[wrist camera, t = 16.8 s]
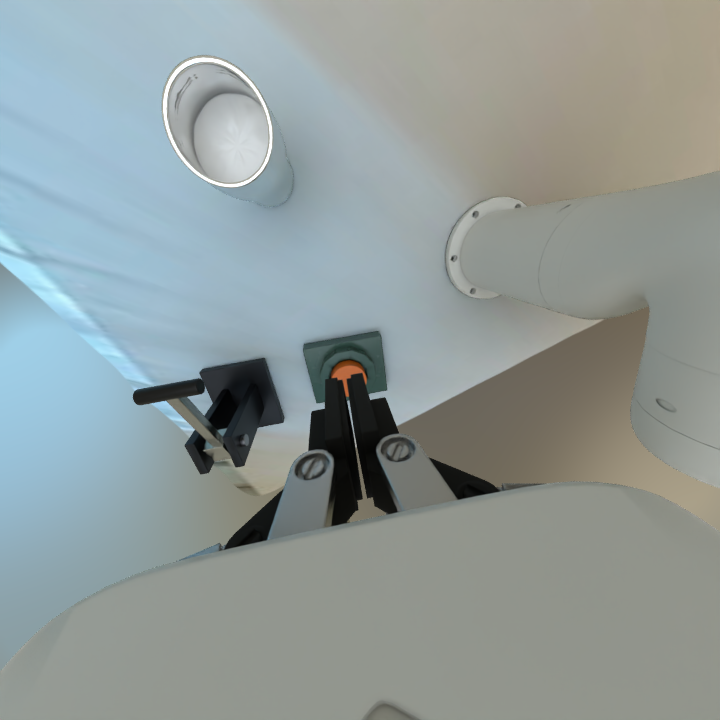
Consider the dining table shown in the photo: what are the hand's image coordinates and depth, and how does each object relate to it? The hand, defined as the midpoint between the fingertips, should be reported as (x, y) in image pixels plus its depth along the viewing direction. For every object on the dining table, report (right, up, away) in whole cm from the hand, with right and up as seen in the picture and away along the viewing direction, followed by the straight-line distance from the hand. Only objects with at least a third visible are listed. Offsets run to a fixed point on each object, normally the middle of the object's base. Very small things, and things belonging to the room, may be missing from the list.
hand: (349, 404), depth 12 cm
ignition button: (-1, 0, +26) cm, 26 cm away
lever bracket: (-17, -3, +29) cm, 34 cm away
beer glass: (-10, +23, +18) cm, 31 cm away
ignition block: (-2, +1, +29) cm, 29 cm away
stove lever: (-16, -4, +17) cm, 24 cm away
